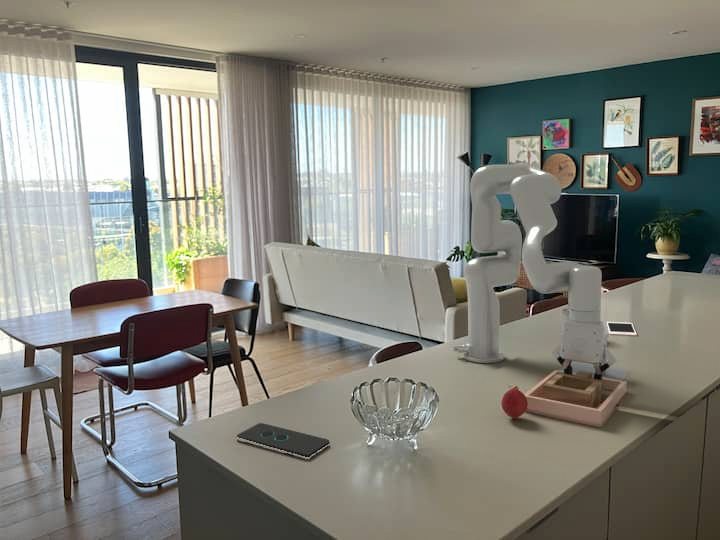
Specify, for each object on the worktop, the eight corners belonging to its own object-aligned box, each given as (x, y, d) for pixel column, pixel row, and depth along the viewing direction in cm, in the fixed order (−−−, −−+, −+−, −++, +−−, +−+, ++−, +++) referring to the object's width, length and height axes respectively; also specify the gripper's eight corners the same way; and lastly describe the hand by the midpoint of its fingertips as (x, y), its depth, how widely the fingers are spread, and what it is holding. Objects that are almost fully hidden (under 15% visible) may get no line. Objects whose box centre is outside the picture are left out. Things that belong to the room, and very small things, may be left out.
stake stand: (630, 375, 164) (632, 332, 162) (618, 389, 153) (620, 343, 151) (568, 365, 174) (569, 324, 172) (553, 378, 163) (554, 334, 162)
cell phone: (609, 335, 206) (609, 333, 206) (606, 323, 223) (606, 321, 223) (637, 337, 203) (637, 334, 203) (631, 325, 220) (632, 322, 220)
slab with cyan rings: (260, 421, 137) (331, 439, 126) (260, 428, 137) (331, 446, 127) (235, 435, 130) (307, 454, 119) (235, 442, 130) (307, 462, 120)
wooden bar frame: (589, 414, 136) (590, 393, 135) (542, 405, 142) (542, 385, 142) (608, 393, 148) (609, 374, 148) (564, 385, 155) (565, 367, 154)
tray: (600, 427, 130) (601, 411, 130) (522, 411, 141) (522, 395, 141) (626, 396, 149) (626, 381, 148) (555, 383, 159) (555, 369, 159)
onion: (513, 425, 133) (513, 391, 132) (496, 417, 138) (496, 384, 137) (532, 420, 136) (533, 387, 135) (515, 412, 141) (515, 380, 140)
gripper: (544, 315, 148) (543, 383, 151) (617, 323, 138) (614, 396, 141) (554, 309, 154) (553, 375, 157) (625, 316, 144) (622, 387, 147)
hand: (582, 384), depth 149 cm, fingers open, 6 cm apart
